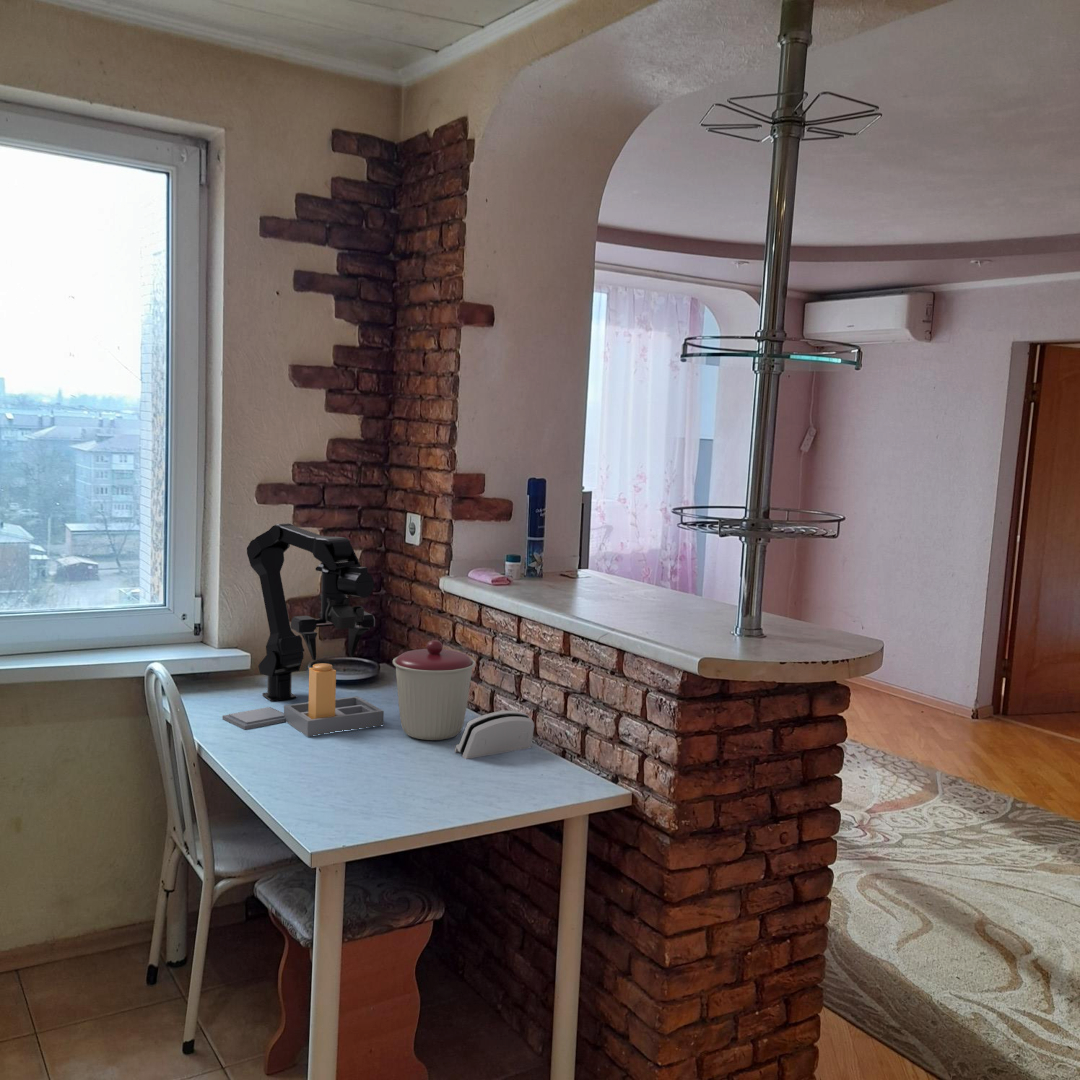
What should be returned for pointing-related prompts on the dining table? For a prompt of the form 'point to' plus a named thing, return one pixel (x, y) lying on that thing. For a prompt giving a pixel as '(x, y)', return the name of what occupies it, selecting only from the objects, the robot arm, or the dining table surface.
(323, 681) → the post
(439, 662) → the canister
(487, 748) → the napkin holder
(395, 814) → the dining table surface
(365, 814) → the dining table surface
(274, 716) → the lid
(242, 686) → the dining table surface
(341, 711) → the tray
